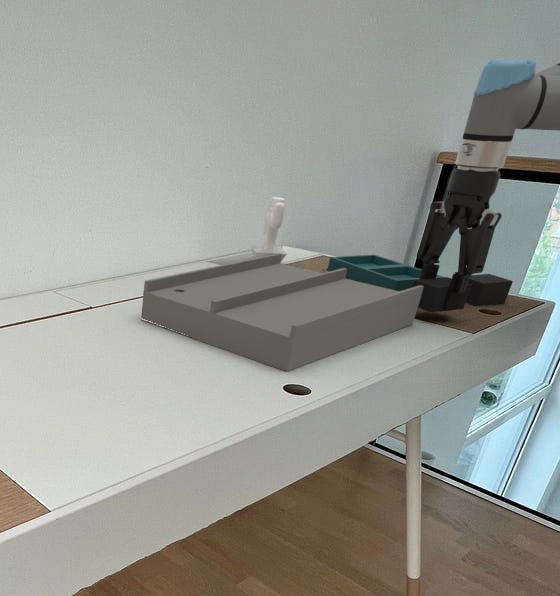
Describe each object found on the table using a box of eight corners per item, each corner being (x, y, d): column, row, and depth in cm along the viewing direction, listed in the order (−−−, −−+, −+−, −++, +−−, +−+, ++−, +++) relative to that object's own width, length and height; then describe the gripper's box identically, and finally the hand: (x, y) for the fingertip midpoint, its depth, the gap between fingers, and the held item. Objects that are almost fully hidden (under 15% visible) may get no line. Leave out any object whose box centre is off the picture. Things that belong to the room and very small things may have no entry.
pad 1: (463, 309, 127) (471, 284, 124) (430, 312, 124) (438, 287, 122) (439, 300, 131) (446, 276, 129) (407, 303, 129) (414, 279, 127)
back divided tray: (440, 291, 146) (444, 277, 144) (392, 295, 142) (397, 280, 140) (371, 267, 163) (374, 254, 161) (327, 270, 159) (330, 256, 158)
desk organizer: (412, 324, 125) (424, 286, 121) (287, 371, 103) (296, 326, 99) (272, 287, 144) (278, 253, 141) (140, 320, 122) (144, 280, 118)
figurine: (277, 262, 165) (289, 194, 156) (284, 271, 157) (298, 201, 148) (247, 260, 165) (258, 193, 157) (253, 270, 157) (265, 199, 149)
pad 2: (504, 303, 140) (513, 280, 137) (475, 305, 137) (483, 283, 135) (481, 295, 144) (489, 273, 142) (452, 297, 142) (460, 275, 139)
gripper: (419, 162, 121) (384, 293, 134) (507, 175, 106) (459, 321, 119) (451, 162, 123) (414, 290, 136) (542, 174, 109) (491, 317, 122)
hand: (435, 304), depth 128 cm, fingers closed on pad 1, 6 cm apart
